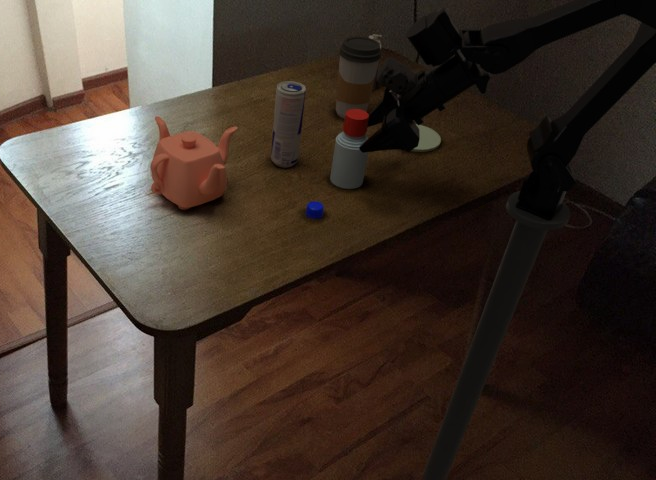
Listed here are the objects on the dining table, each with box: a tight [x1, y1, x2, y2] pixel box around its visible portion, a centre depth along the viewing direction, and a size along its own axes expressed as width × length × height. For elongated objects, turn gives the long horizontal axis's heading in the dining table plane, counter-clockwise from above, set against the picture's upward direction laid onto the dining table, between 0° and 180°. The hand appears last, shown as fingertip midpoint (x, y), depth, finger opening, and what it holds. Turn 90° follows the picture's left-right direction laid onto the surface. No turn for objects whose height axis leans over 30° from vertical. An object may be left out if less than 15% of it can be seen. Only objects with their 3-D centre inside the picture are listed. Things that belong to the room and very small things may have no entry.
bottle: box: [329, 131, 370, 190], centre depth 124 cm, size 6×6×12 cm
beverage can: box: [270, 80, 307, 169], centre depth 127 cm, size 5×5×15 cm
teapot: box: [149, 115, 238, 211], centre depth 118 cm, size 14×14×11 cm
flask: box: [367, 33, 383, 90], centre depth 158 cm, size 9×3×11 cm, turn 177°
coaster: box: [410, 123, 442, 153], centre depth 142 cm, size 11×11×1 cm
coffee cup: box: [335, 35, 382, 119], centre depth 143 cm, size 8×8×15 cm
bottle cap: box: [305, 200, 325, 220], centre depth 119 cm, size 3×3×2 cm
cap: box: [342, 109, 370, 137], centre depth 121 cm, size 4×4×3 cm
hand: (361, 137), depth 122 cm, fingers open, 9 cm apart
